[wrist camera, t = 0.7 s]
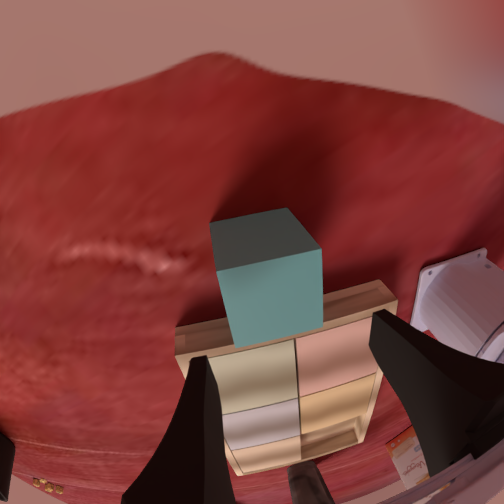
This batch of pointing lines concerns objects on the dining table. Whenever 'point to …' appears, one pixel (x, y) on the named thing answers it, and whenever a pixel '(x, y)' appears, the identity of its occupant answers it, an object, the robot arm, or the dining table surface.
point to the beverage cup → (308, 484)
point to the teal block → (268, 276)
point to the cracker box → (410, 461)
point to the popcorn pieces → (47, 486)
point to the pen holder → (5, 466)
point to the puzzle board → (331, 317)
